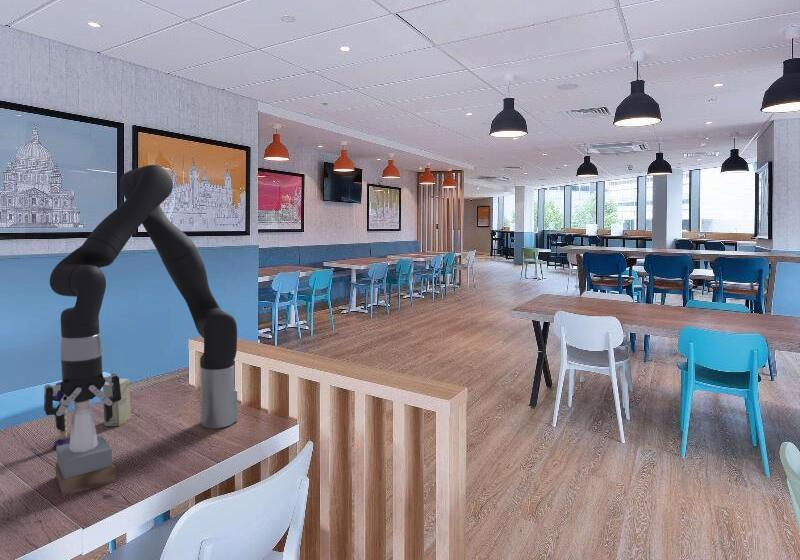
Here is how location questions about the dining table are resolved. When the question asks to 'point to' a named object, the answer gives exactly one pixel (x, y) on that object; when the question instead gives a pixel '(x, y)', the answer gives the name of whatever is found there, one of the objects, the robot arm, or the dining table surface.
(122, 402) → the skincare box
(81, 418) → the pepper shaker
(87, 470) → the grey top block
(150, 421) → the dining table surface
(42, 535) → the dining table surface
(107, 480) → the walnut base block
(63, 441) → the toy lamp
